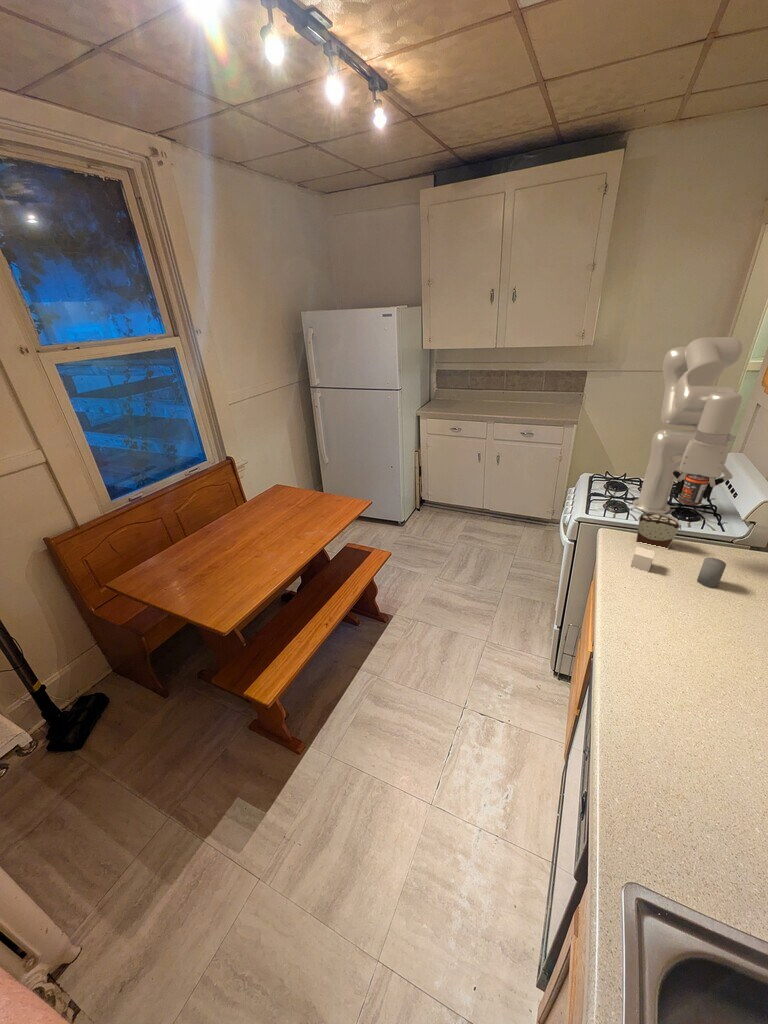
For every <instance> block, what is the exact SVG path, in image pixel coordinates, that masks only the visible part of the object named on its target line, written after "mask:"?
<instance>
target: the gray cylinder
mask: <svg viewBox="0 0 768 1024" xmlns="http://www.w3.org/2000/svg"><path fill="white" fill-rule="evenodd" d="M726 567H727V563H726V562H725V561H723V560H722V559H719V558H715V557H706V558H704V560H703V561H702V565H701V568H700V571H699V574H698V576H697V579H696V581H697V583H699V584H700V585H702V586H704V587H706V588H707V587H708V588H714V589H715V588H718V587H719V585H720V582H721V580H722V577H723V576H724V575H723V574H724V572H725V569H726Z"/></svg>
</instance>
